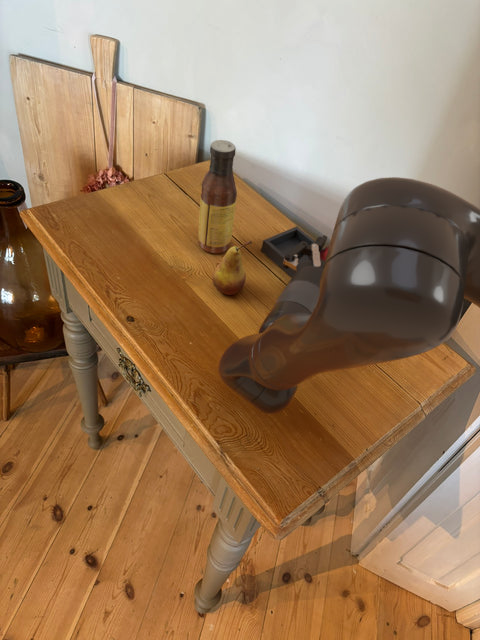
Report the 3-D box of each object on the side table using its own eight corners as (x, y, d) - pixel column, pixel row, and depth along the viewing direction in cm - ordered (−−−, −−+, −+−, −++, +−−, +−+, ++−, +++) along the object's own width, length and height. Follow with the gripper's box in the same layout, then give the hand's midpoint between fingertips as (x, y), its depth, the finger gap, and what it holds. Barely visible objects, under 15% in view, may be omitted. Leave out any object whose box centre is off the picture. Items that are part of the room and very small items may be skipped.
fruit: (236, 276, 83) (247, 221, 74) (247, 298, 79) (259, 243, 70) (206, 279, 81) (214, 223, 72) (216, 302, 77) (225, 247, 69)
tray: (293, 236, 93) (296, 226, 91) (357, 288, 85) (362, 278, 84) (260, 250, 88) (263, 240, 87) (325, 307, 81) (329, 296, 79)
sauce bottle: (236, 244, 89) (253, 147, 74) (217, 260, 85) (232, 161, 70) (208, 229, 90) (220, 132, 76) (189, 244, 86) (197, 144, 72)
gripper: (356, 305, 66) (386, 245, 77) (267, 264, 70) (308, 213, 81) (340, 338, 72) (370, 278, 83) (258, 299, 75) (298, 246, 86)
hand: (339, 246), depth 82 cm, fingers open, 5 cm apart
